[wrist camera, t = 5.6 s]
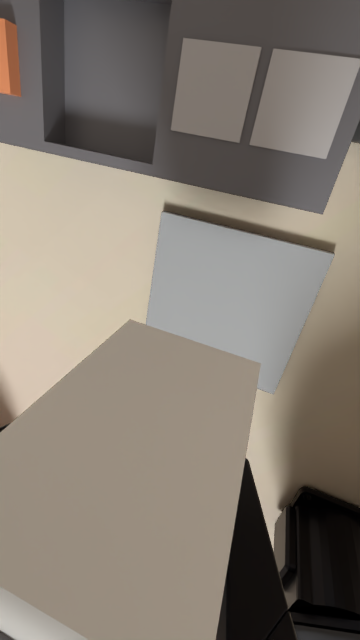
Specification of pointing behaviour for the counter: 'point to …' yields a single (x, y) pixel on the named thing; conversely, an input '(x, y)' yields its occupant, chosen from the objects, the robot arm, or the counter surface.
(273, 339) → the mat
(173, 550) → the block
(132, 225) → the counter surface
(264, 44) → the power strip
